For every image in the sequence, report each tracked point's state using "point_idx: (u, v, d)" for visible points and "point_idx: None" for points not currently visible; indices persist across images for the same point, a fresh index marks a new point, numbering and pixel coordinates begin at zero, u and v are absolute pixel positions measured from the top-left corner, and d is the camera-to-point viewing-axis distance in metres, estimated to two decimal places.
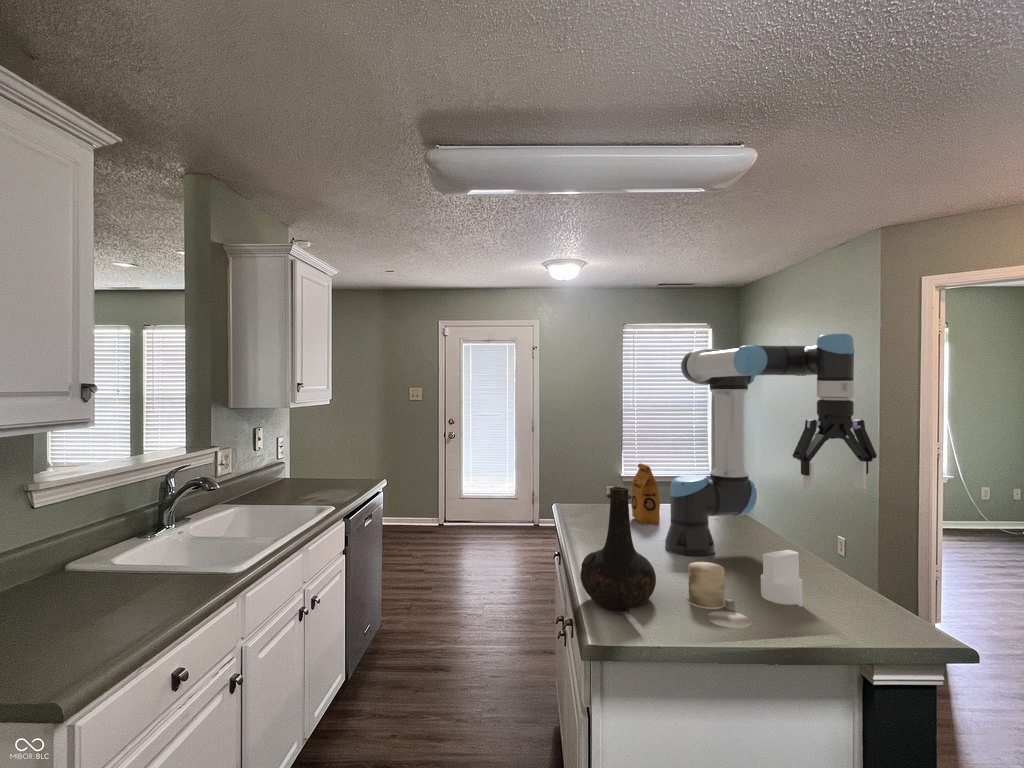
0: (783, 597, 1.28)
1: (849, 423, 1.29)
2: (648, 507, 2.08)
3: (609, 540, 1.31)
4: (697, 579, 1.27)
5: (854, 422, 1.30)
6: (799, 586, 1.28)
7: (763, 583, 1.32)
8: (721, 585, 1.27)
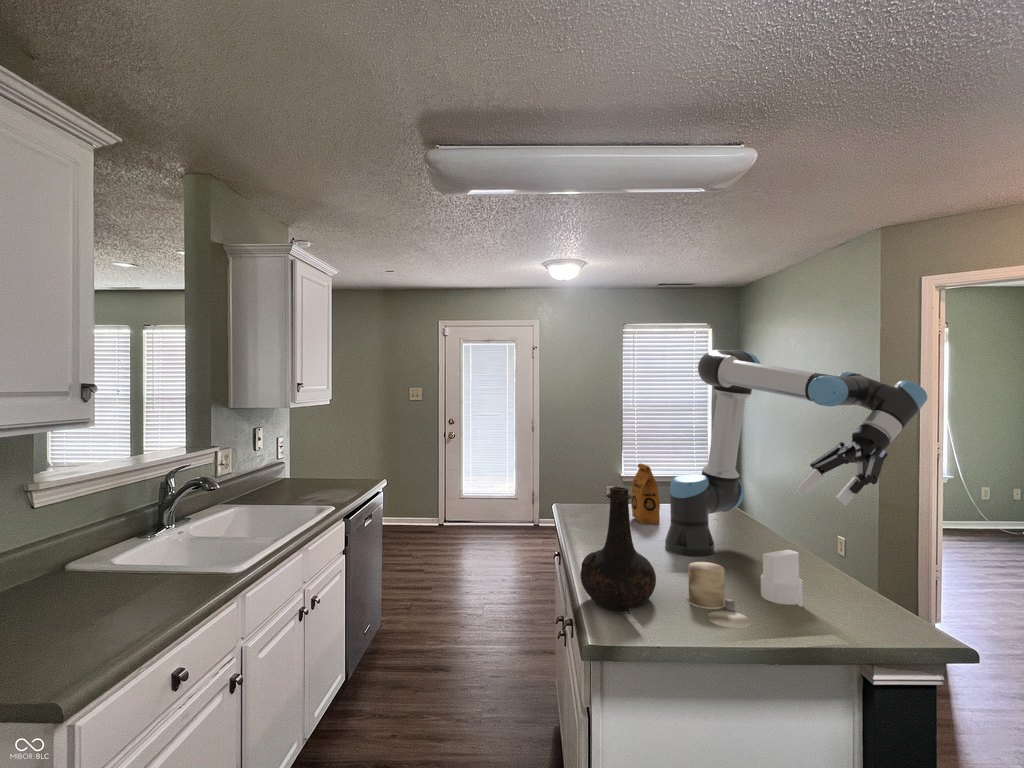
0: (783, 597, 1.28)
1: None
2: (648, 507, 2.08)
3: (609, 540, 1.31)
4: (697, 579, 1.27)
5: None
6: (799, 586, 1.28)
7: (763, 583, 1.32)
8: (721, 585, 1.27)
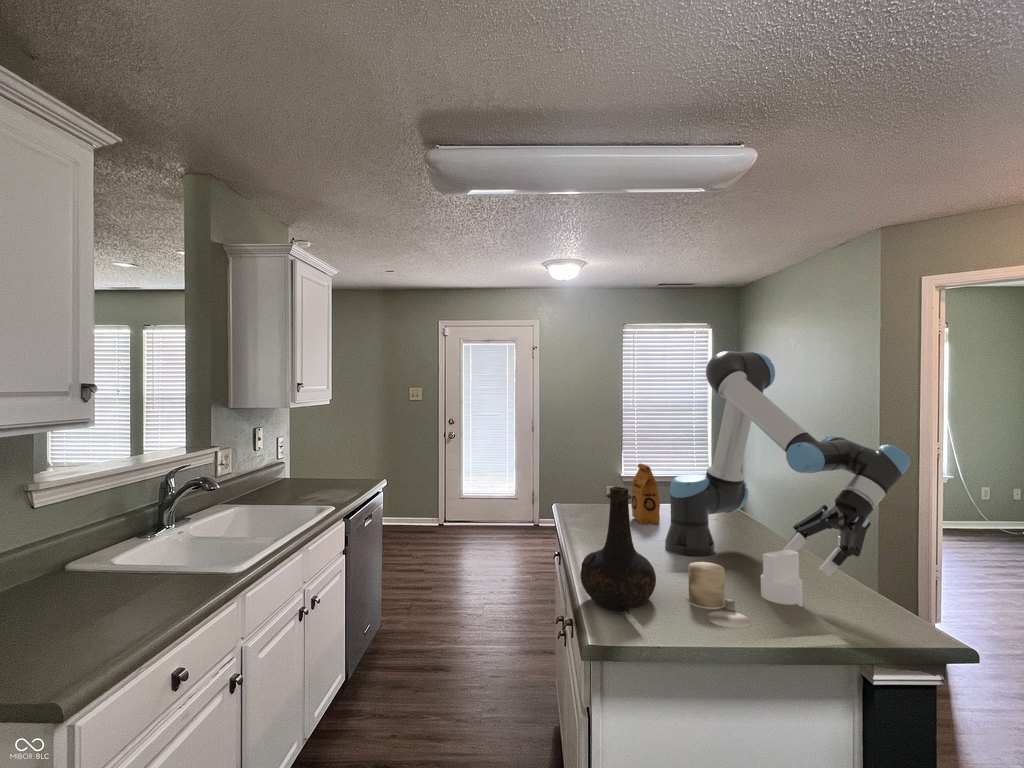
0: (783, 597, 1.28)
1: None
2: (648, 507, 2.08)
3: (609, 540, 1.31)
4: (697, 579, 1.27)
5: None
6: (799, 586, 1.28)
7: (763, 583, 1.32)
8: (721, 585, 1.27)
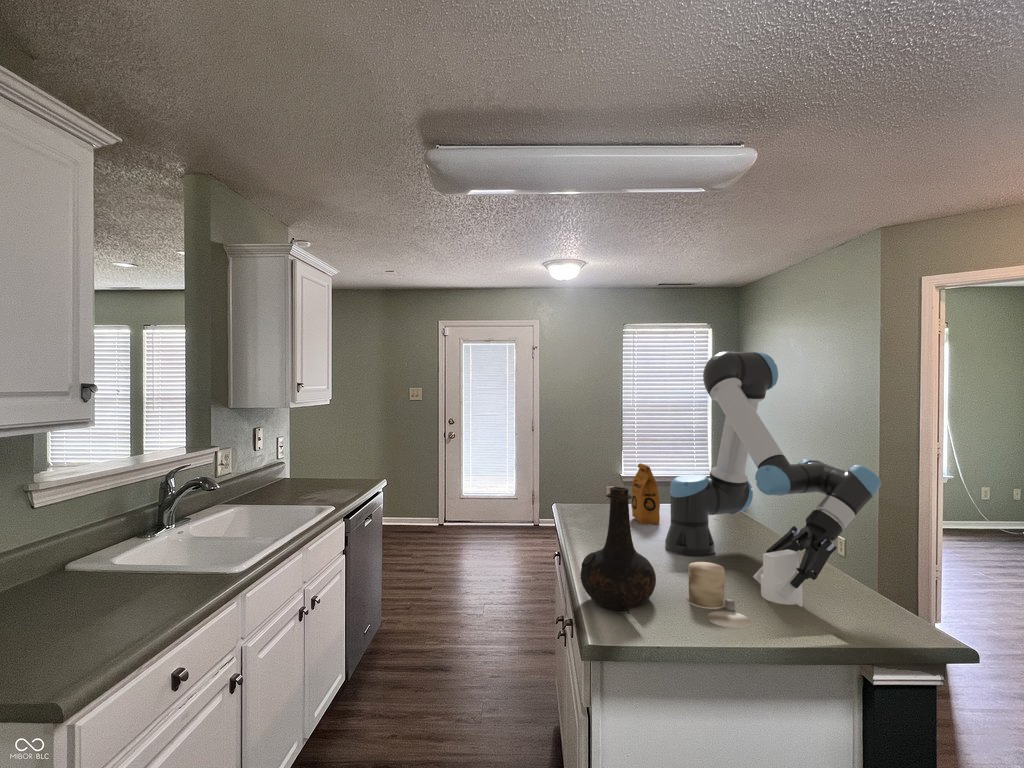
0: None
1: None
2: (648, 507, 2.08)
3: (609, 540, 1.31)
4: (697, 579, 1.27)
5: None
6: (799, 586, 1.28)
7: (763, 583, 1.32)
8: (721, 585, 1.27)
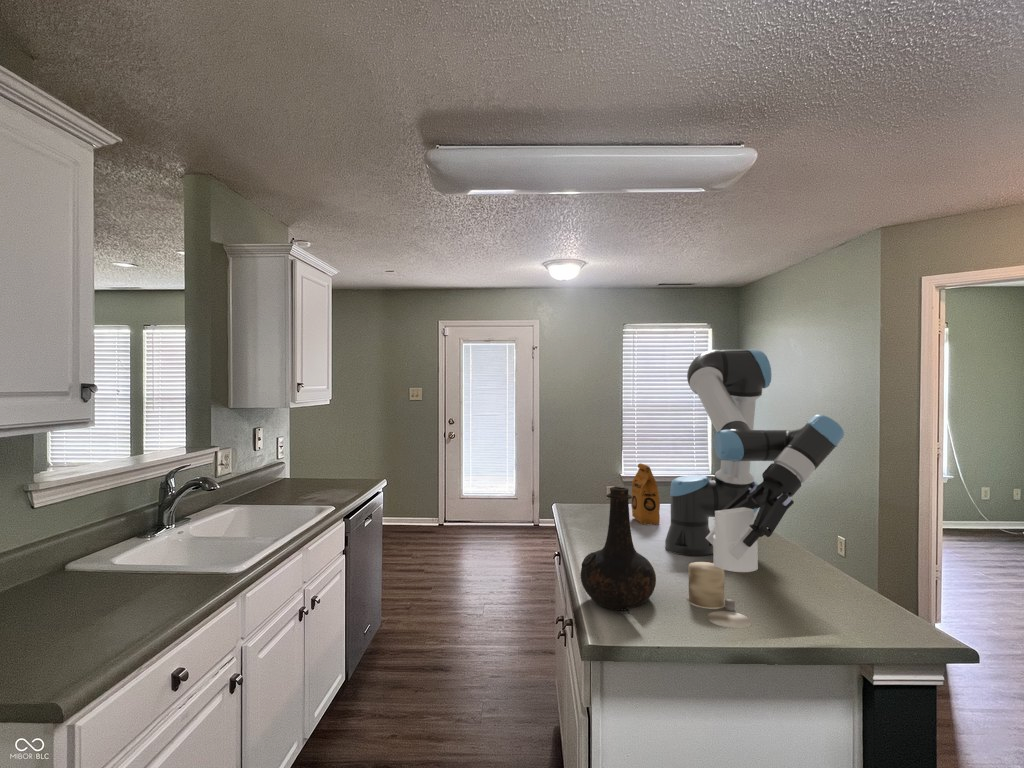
0: None
1: None
2: (648, 507, 2.08)
3: (609, 539, 1.31)
4: (697, 579, 1.27)
5: None
6: (753, 545, 1.16)
7: (715, 543, 1.19)
8: (721, 585, 1.27)
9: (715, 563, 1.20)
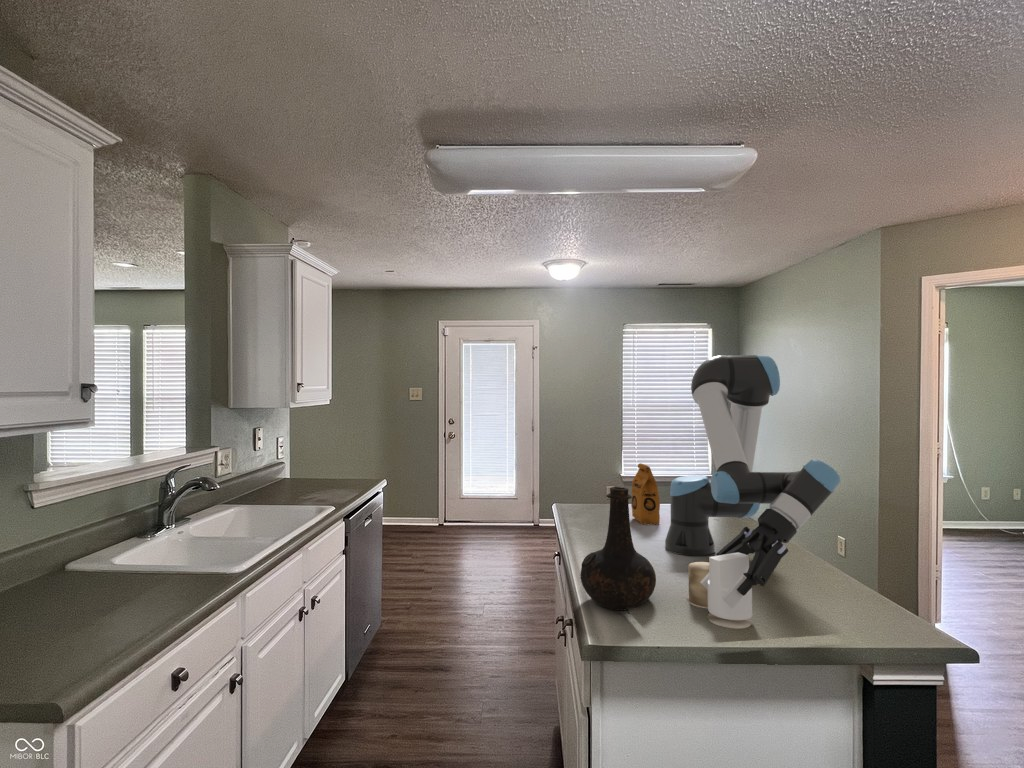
0: None
1: None
2: (648, 507, 2.08)
3: (609, 540, 1.31)
4: (697, 579, 1.27)
5: None
6: (748, 593, 1.16)
7: (709, 589, 1.19)
8: None
9: (709, 609, 1.19)
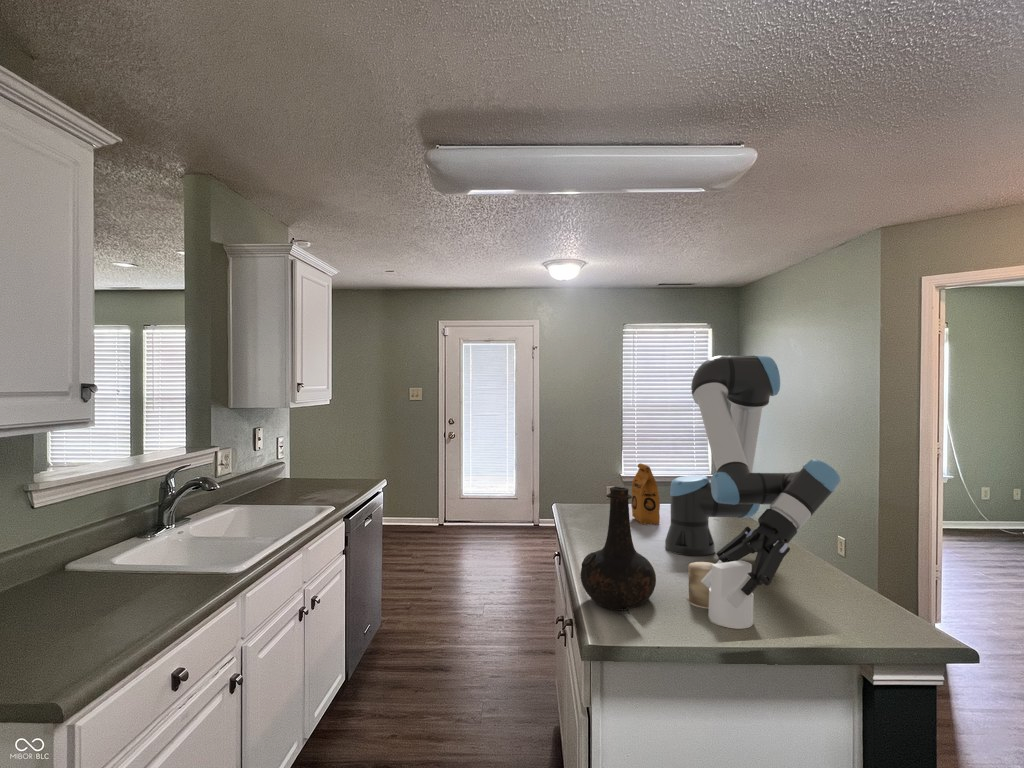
0: (731, 614, 1.15)
1: None
2: (648, 507, 2.08)
3: (609, 539, 1.31)
4: (697, 579, 1.27)
5: None
6: (749, 602, 1.15)
7: (710, 597, 1.19)
8: None
9: (710, 616, 1.19)
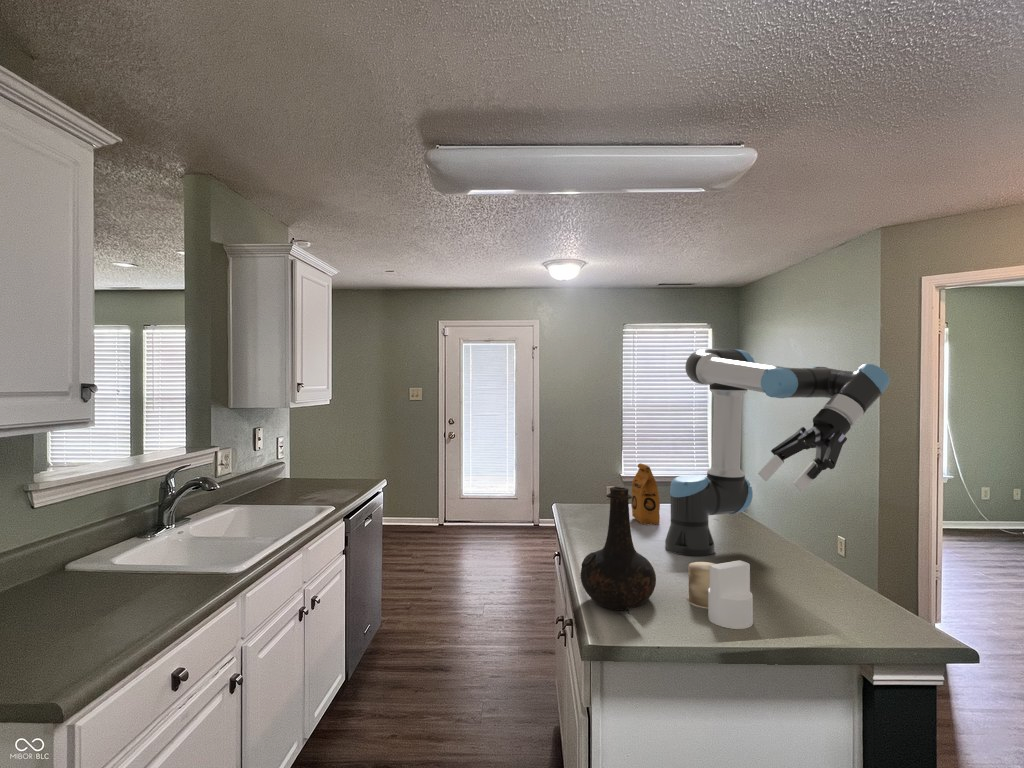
0: (730, 614, 1.15)
1: None
2: (648, 507, 2.08)
3: (609, 540, 1.31)
4: (697, 579, 1.27)
5: None
6: (748, 602, 1.15)
7: (710, 598, 1.19)
8: None
9: (710, 617, 1.19)
